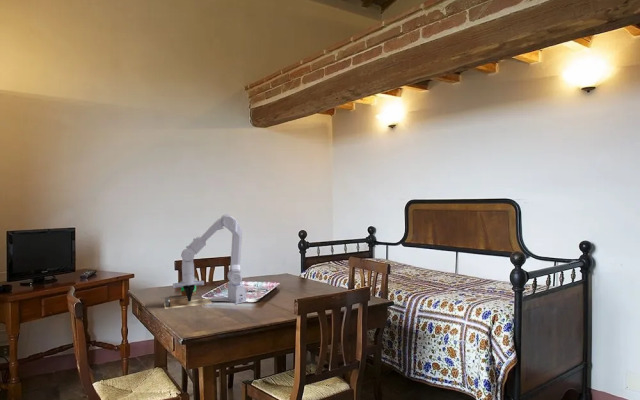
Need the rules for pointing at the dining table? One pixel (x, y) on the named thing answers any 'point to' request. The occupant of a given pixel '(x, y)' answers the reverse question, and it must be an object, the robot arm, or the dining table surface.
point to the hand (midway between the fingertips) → (189, 300)
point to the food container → (188, 286)
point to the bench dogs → (167, 302)
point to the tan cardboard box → (178, 301)
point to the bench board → (193, 303)
